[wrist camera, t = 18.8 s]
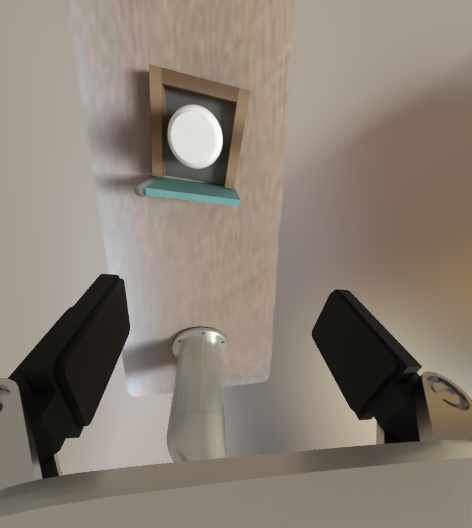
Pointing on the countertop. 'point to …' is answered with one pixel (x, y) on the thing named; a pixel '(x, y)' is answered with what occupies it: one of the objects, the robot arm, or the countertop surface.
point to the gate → (187, 191)
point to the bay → (210, 97)
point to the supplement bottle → (195, 136)
